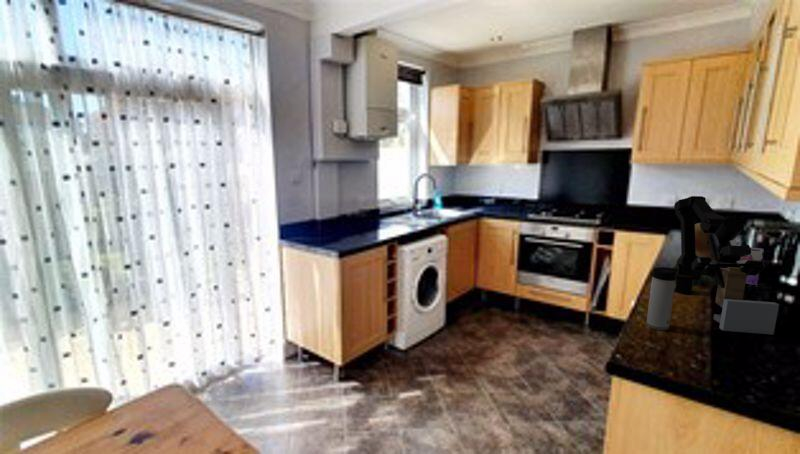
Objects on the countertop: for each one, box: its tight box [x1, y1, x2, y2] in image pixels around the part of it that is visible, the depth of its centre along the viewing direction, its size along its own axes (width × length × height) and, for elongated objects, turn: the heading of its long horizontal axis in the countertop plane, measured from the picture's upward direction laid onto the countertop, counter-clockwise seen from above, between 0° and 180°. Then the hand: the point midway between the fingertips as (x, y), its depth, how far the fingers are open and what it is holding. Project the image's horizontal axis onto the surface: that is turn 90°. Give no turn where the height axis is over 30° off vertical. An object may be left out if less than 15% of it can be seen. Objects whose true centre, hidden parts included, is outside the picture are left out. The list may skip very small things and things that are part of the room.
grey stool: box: [713, 299, 780, 336], centre depth 127 cm, size 10×14×10 cm
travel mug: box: [646, 266, 678, 331], centre depth 125 cm, size 6×7×20 cm
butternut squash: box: [695, 222, 714, 274], centre depth 188 cm, size 14×13×25 cm
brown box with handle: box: [714, 267, 747, 308], centre depth 127 cm, size 5×5×13 cm
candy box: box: [720, 246, 765, 287], centre depth 174 cm, size 14×6×16 cm, turn 47°
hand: (733, 288), depth 126 cm, fingers closed on brown box with handle, 5 cm apart
